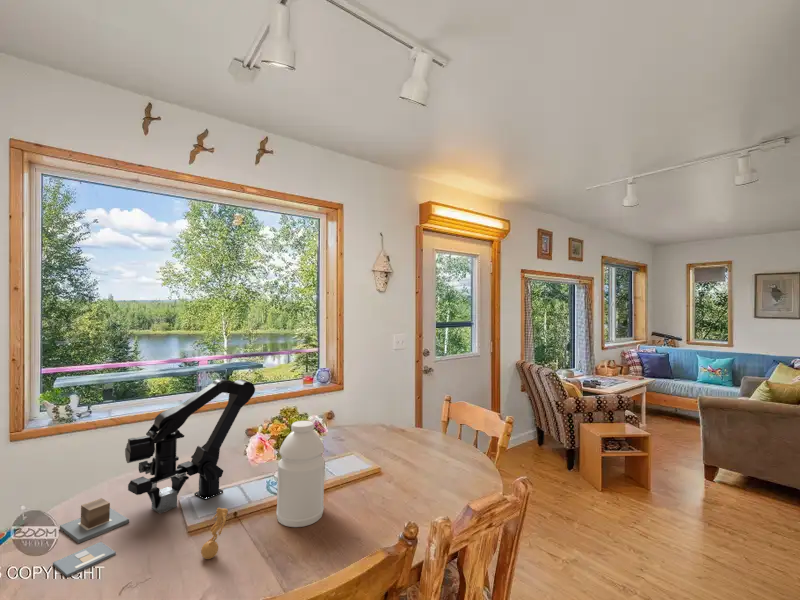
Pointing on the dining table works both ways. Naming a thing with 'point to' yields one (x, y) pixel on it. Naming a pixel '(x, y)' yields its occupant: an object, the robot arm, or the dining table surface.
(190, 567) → the dining table surface
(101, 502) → the walnut cube
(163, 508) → the metal cube
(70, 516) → the dining table surface
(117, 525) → the base plate
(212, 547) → the figurine
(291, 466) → the bottle
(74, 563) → the board
